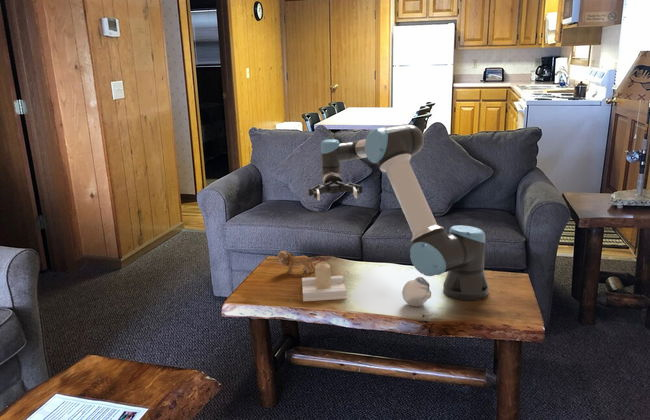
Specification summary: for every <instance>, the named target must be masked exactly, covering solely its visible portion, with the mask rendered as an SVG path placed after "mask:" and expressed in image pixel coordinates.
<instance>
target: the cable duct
mask: <svg viewBox="0 0 650 420" xmlns="http://www.w3.org/2000/svg"><path fill="white" fill-rule="evenodd" d="M301 285H302V302H312V301H313V302H315V301H316V302H317V301H329V300H331V301H332V300H345V299H347V298H348V297H347V295H348V294H347V293H348V292H347V288H346V287H345V284H344V275H331V289H316V280H315V276H311V277H309V276H308V277H301Z"/></svg>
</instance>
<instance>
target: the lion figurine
mask: <svg viewBox="0 0 650 420" xmlns="http://www.w3.org/2000/svg"><path fill="white" fill-rule="evenodd" d="M277 260H278V262H279V263H281V264H282V265H283V266H287V267H288V269H287V271H288V272H287V273H288V274H289V275H291V274H292V273H293V266H300V265H303V266H304V268H303V270H302V271H305V272H306V271H307V269H308V273H309V274H312V273H313V270H314V271H315V267H314V266H313V263H312V260H311V258H309V256H307V255H300V256H299V255H298V256H296V255H294V254H293V253H290V252H288V251H285V250H281V251H279V252H278V255H277Z"/></svg>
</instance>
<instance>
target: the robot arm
mask: <svg viewBox="0 0 650 420" xmlns="http://www.w3.org/2000/svg"><path fill="white" fill-rule="evenodd" d="M424 141H425V137H424V134H423V132H422V130H421V129H420V128H419V127H418V126H416V125H413V124H407V123H406V124H398V125H389V126H381V127H378V128H374V129H371V130H370V131H369V132H368V133H367V136H366V138H364V139H360V140H355V141H349V142H341V143H340V140H338V139H335V138H334V139H324V140H322V141H321V142H320V143H321V144H320V145H321V146H320V153H321V156H320V157H321V180H322V183H323V184H322V185H321V184H320V183H319V182H318V183H316V184H315V185H313V186H312V187H309V188H308V196H309V197H311V196H313V198H314V199H317V201H318V202H319V201H321V197H320V196H321V195H322V194H331V195H336V194H339V193H344V192H347V193H351V194H353V196H354V199H358V195H359V194H363V193H364V191H363V185H360V184H357V183H353V182H352V181H348V182H347V183H346V182H343V181H344V180H343V179H342V177H341V162H347V161H353V160H361V159H365V158H367V160H368V161H369V162H370V163H373V164H377V166H378V169H379V170H380V172H384V173H386V176H387V177H388V179H389V182H390V185H391V187H392V189H393V192H394V194H395V196H396V199H397V201H398V202H399V205H400V207H401V211H402V212H403V214H404V217H405V219H406V221H407V223H408V226H409V228H410V231H411V233H412V237H411V241H410V242H411V244H412V246H410V249H409V257H410V261H411V263H412V265H413V266H414V269H415V270H417V272H419V273H420V274H421V275H424V276H425V277H434V276H440V275H442V274H444V273H446V276H445V280H444V282H443V285H442V286H443V287H442V288H443V289H442V291H443V293H444V294H445V295H446V296H448V297H450V298H453V299H455V300H460V301H461V300H462V301H477V300H482V299H484V298H486V297H487V296H488V295H489V283H488V281H487V278H486V274H485V255H486V234H485V232H484V230H482V229H481V228H479V227H475V226H471V225H459V224H458V225H452V226H451V227H450V229H449V234H447V231H446V230H445V227H443V226H441V225H439V224H438V223H437V221H436V218H435V217H434V215H433V212H432V209H431V208H430V205H429V203H428V201H427V198H426V197H425V194H424V191H423V190H422V187H421V185H420V183H419V180H418V179H417V177H416V174H415V172H414V169H413V167H412V165H411V163H410V162H411V159H412V157H413V156H415V155H417V154H418V153H420V152H421V150H422V148H423V146H424V144H425V143H424Z"/></svg>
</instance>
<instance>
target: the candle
mask: <svg viewBox="0 0 650 420" xmlns="http://www.w3.org/2000/svg"><path fill="white" fill-rule="evenodd" d="M314 268H315V270H314V275H315V276H314V277H315V280H316V289H331V276H332V271H331V265H330V264H329V263H327V262H326V261H320V262H317V263H316V265H315V266H314Z"/></svg>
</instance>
